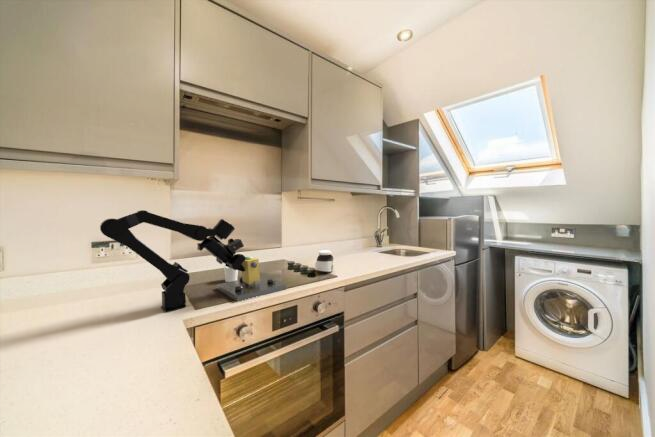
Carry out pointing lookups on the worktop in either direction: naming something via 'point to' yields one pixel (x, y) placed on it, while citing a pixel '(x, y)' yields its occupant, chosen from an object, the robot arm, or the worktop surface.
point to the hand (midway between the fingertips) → (244, 270)
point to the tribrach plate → (250, 288)
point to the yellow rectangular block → (251, 270)
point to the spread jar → (324, 262)
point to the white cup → (230, 274)
